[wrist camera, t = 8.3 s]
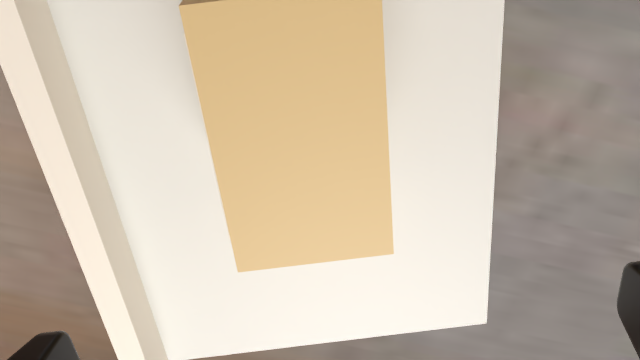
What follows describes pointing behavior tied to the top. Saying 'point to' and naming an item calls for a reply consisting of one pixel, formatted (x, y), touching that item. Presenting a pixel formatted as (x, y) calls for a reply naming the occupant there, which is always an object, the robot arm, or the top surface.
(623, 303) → the robot arm
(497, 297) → the top surface
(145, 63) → the shelf
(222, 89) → the tea box
